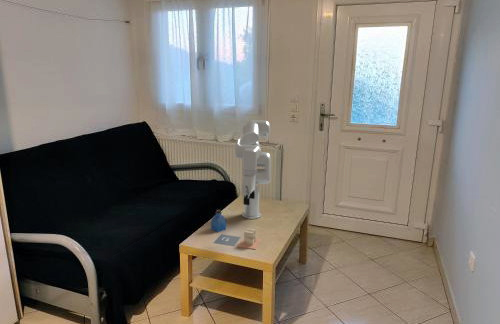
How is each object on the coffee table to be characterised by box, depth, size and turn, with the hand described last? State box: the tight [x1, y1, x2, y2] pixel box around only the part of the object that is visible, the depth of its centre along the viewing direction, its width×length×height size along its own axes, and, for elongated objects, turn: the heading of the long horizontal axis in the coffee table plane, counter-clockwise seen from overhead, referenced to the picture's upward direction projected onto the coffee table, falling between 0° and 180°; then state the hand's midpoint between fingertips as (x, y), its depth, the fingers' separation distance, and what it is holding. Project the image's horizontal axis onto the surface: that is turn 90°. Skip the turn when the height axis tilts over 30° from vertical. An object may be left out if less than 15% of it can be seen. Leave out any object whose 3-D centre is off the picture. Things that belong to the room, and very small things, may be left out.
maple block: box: [243, 228, 257, 245], centre depth 195 cm, size 5×5×7 cm
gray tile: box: [213, 233, 241, 247], centre depth 199 cm, size 12×12×1 cm
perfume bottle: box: [210, 209, 227, 233], centre depth 212 cm, size 6×6×12 cm
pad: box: [237, 237, 262, 251], centre depth 195 cm, size 12×10×1 cm
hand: (249, 201), depth 195 cm, fingers open, 9 cm apart
